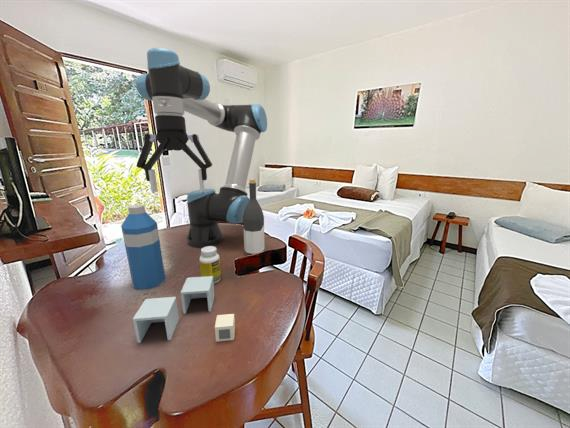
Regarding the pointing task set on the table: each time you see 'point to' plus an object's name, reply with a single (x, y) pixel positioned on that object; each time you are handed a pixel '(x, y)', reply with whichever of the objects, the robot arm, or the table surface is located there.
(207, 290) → the cover far
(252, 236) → the wine bottle
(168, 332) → the cover near
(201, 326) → the table surface
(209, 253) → the pill bottle
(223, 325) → the letter cube
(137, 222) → the water bottle
